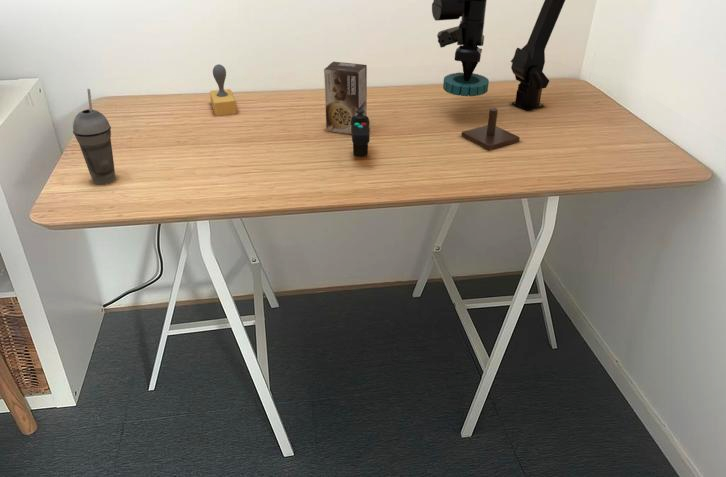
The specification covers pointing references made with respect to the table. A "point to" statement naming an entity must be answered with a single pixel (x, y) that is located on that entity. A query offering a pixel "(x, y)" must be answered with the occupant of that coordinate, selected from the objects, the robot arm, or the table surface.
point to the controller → (360, 133)
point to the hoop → (465, 84)
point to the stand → (490, 134)
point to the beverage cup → (95, 144)
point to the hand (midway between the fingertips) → (466, 79)
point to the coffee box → (344, 94)
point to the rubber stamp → (222, 94)
